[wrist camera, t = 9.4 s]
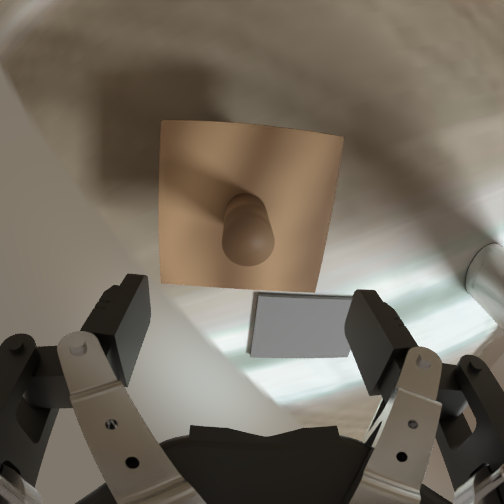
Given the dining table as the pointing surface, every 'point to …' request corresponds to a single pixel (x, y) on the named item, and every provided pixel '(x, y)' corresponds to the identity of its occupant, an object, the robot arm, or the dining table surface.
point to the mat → (300, 326)
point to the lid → (245, 204)
